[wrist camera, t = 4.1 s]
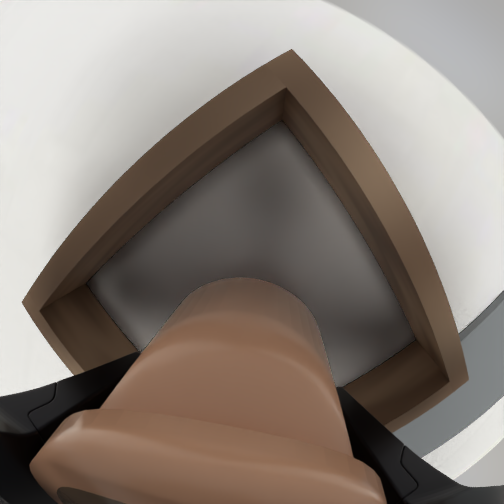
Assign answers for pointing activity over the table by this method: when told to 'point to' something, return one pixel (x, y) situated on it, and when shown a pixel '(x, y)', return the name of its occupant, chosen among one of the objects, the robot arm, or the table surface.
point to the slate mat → (465, 385)
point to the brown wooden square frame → (206, 159)
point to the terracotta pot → (216, 414)
